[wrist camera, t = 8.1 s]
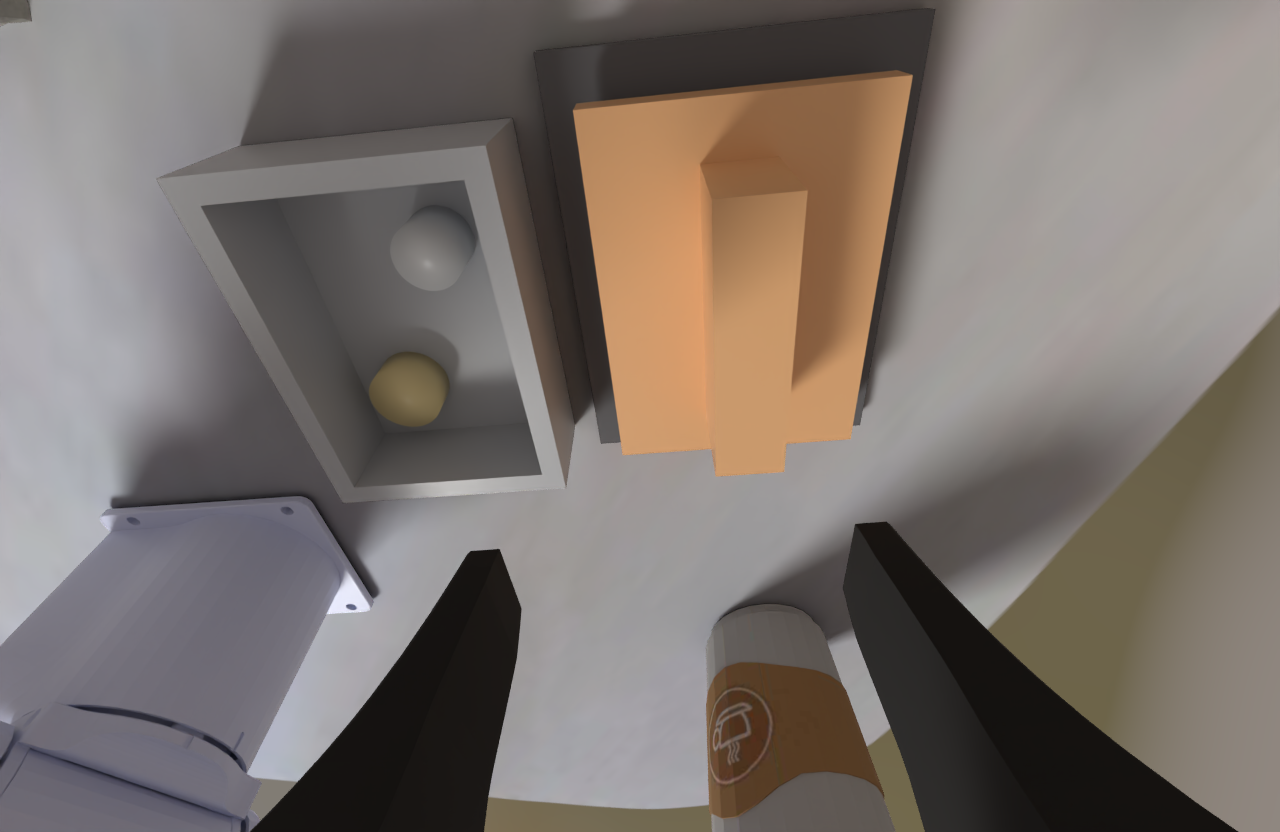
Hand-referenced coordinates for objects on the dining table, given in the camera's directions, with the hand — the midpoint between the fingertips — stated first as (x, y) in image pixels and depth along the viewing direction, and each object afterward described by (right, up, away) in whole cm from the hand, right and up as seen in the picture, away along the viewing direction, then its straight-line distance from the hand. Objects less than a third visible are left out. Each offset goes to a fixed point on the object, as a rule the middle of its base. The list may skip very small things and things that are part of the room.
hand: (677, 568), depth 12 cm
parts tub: (-8, +7, +8) cm, 13 cm away
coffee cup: (+6, -9, +20) cm, 22 cm away
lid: (+2, +8, +6) cm, 10 cm away
